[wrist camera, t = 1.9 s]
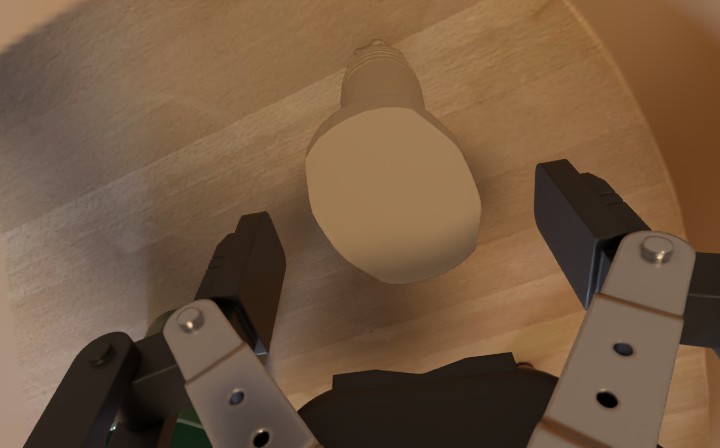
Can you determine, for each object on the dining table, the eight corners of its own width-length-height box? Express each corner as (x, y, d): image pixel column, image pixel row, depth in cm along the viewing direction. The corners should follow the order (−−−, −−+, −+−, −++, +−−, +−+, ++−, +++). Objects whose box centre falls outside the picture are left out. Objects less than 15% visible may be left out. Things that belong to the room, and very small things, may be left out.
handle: (364, 130, 28) (371, 300, 15) (313, 34, 24) (271, 156, 12) (434, 96, 26) (502, 252, 14) (391, -9, 23) (432, 76, 11)
